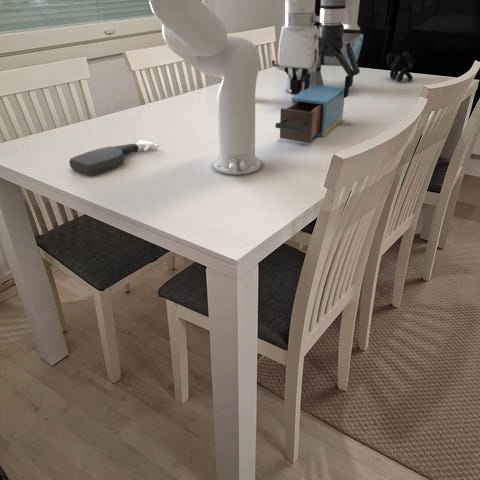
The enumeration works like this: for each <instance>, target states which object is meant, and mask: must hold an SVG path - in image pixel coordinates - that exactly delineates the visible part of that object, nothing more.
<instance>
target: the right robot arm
mask: <svg viewBox="0 0 480 480" xmlns="http://www.w3.org/2000/svg"><path fill="white" fill-rule="evenodd" d="M360 1H361V0H320V7H319V22H318V23H320V24H319V25H318V28H317V31H318V63H317V64H316V71H315V72H313V73H307V74H306V75H305V76H304V77H303V82H302V90H301V92H303V91H304V90H306V89H308V88H309V87H311V86H313V85H319V86H325V85H324V80H323V75H322V66H327V67H329V66H331V67H342V68H343V71H344V72H345V73H346V74H347V75H346V76H345V77H344V78H345V79H344V87H343V88H344V97H343V98H344V99H346V98H347V97H349V93H350V88H352V86H353V84H354V83H353V82H354V76H357V75H359V74H360V72H361V70H360V67H359V64H358V61H359V57H360V53H361V49H362V46H363V40H364V34H363V33H361V28H360V26H359V25H358V18H359V10H360ZM275 62H276V60H275V59H273V60H272V61H271V65H272V66H274V67H277V68H278V66H279V64H276V63H275ZM296 73H298V68H297V67H296ZM286 91H287V92H288V93H289V94H291V90H290V78H289V77H288V83H287V86H286ZM301 92H300V93H301ZM298 94H299V93H298ZM298 94H297V95H298Z"/></svg>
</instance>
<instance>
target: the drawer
mask: <svg viewBox="0 0 480 480" xmlns="http://www.w3.org/2000/svg"><path fill="white" fill-rule="evenodd" d="M279 115H280V118H279V119H280V120H279V122H276V123H275V124H274V125H275V128H276V129H279V139H282V140H283V139H284V140H290V141H295V142H296V141H297V142H302V143H309V144H311V143H312V142H313V138H314V137H316V134H318V133H319V132H320V131H321V127H322V115H323V104H314V103H306V102H298V101H297V102H296V103H294V104H292V103H291V105H289V106H288V107H286V108H284V107H282V108H280V114H279Z"/></svg>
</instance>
